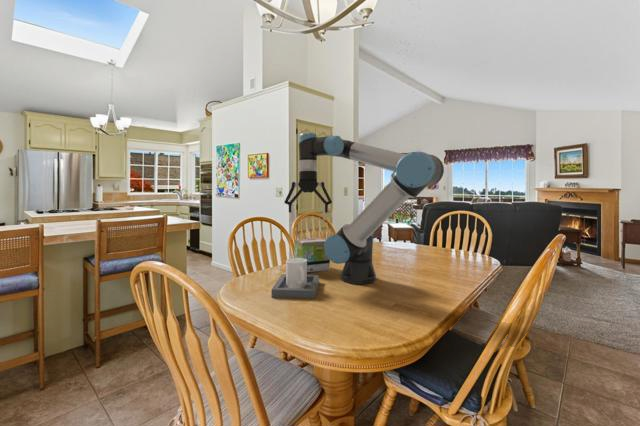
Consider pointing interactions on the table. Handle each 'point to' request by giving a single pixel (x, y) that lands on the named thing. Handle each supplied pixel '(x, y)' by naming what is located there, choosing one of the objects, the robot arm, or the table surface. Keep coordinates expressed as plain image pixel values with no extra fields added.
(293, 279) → the mug
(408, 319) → the table surface
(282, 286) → the gray tray
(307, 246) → the tea box
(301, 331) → the table surface
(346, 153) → the robot arm
